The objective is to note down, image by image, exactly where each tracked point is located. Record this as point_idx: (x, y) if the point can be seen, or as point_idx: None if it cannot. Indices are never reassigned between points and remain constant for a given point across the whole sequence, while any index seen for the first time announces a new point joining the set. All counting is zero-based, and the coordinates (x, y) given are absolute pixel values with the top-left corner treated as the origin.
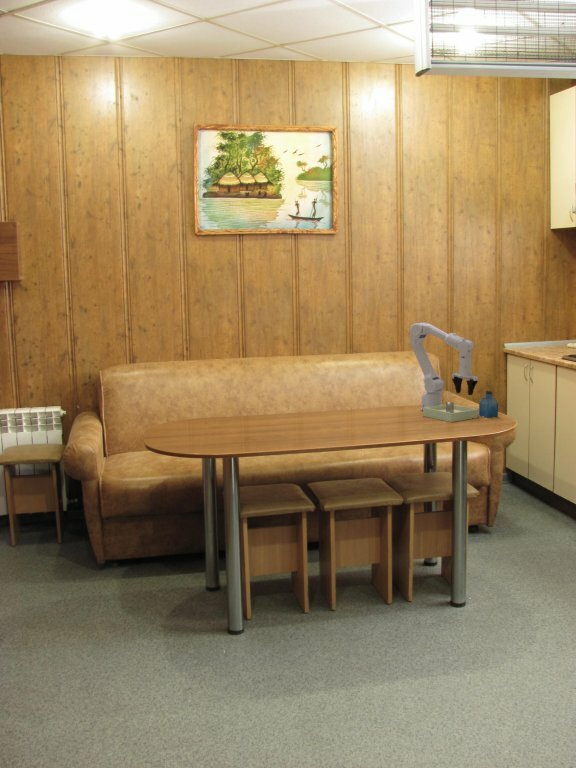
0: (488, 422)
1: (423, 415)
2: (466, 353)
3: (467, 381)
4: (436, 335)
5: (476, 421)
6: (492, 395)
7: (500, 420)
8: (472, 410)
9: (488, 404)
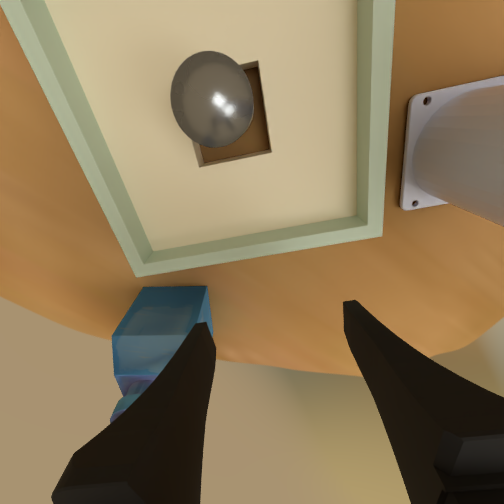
0: (18, 224)
1: None
2: None
3: (109, 466)
4: None
5: (51, 182)
6: None
7: (69, 299)
8: (112, 228)
9: (113, 341)
